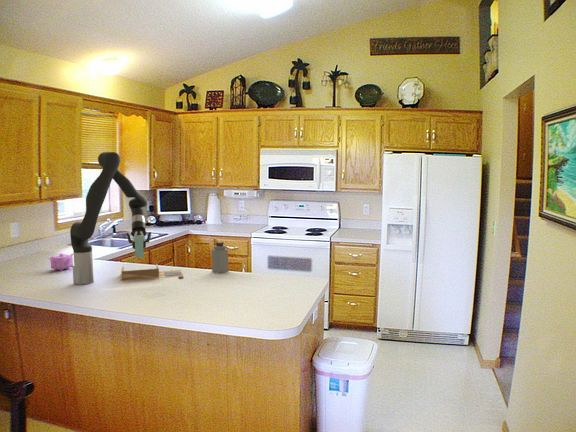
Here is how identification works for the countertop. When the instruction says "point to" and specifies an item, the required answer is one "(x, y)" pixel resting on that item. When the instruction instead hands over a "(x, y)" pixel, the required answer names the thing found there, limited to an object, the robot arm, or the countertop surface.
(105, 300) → the countertop surface
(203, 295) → the countertop surface
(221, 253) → the perfume bottle
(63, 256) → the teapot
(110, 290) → the countertop surface
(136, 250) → the block
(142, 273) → the stand
